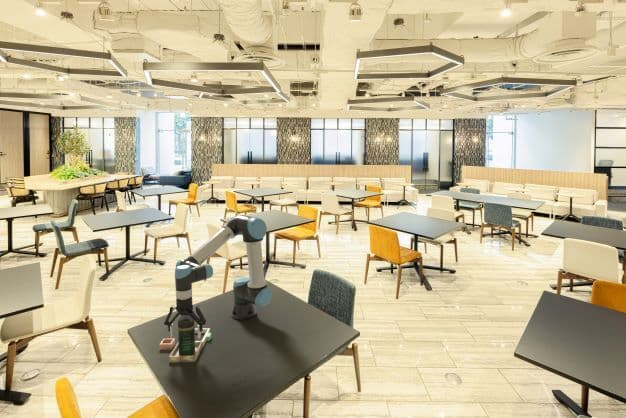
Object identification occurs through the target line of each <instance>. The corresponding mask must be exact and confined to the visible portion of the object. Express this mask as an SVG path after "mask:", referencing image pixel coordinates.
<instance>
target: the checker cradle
mask: <svg viewBox="0 0 626 418" xmlns="http://www.w3.org/2000/svg"><path fill="white" fill-rule="evenodd" d="M195 334H198V327H197V328H196V327H195ZM201 334H204V335H203V338H202V339H201V341H203V347H205V345H206V342H210V341H211V339H212V332H211V328H209V327H208V328H207V327H206V328H204V327H203V330H202V332H201Z"/></svg>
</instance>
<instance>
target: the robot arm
mask: <svg viewBox="0 0 626 418" xmlns="http://www.w3.org/2000/svg"><path fill="white" fill-rule="evenodd" d="M267 229H268V227H267V224H266V222H265V221H264V220H263V219H262V218H260V217H257V216H249V215H244V214H241V215H237V216H235V217H232V218H231V219H229V220H228V221H227V222H225V223H224V224H223V225H221V229H220V230H218V231H217V232H216V233H214V235H213V236H212V237H210V238H209V239H208V240H207V241H205V243H203V244H202V245H201V246H199V247H198V248H197V249H196V250H195V251H194V252H192V253H191V254H190V255H189V256H188V257H187V258H186V259H185V258H182V259H179V260H178V261H177V262H176V264H175V269H174V280H175V281H174V283H175V284H174V285H175V297H176V298H175V306H174V305H171V306H170V307H169V312H168V314H167V316H166V318H165V320H164V323H163V325H164V326H167V330H168V333H170V335H169V336H170V338H171V339H172V338H175V329H174V324H173V323H174V321H176V319H177V318H178V317H179V316H180V317H181V316H183V315H186V316H188V315H189V316H190V317H192V318H193V319H194V323H196V324H197V328H198V333H197V339H201V336H202V333H201V332H202V330H203V328H204V327H203V325H204V326H205V325H206V323H207V320H206V318H205V316H204V315H203V313H202V311H201V308H200V305H199V304H198V305H196V306H194V305H193V284H194V283H198V282H201V281H204V280H207V279H211V278H212V277H213V275H214V269H213V266H212V264H210V263H204V262H206V261H207V260H208V259H209V258H210V257H211V256H213V255H214V254H215V253H216V252H217V251H218V250H219V249H220V248H221V247H222V246H224V245H225V244H226V243H228V241H229V240H231V239H234V238H235V237H237V236H239V235H240V236H242V241H243V243H245V246H246V247H245V248H246V255H247V256H246V259H247V265H248V266H247V267H248V277H241V278H237V279H235V280H234V281H233V286H232V289H233V304H232V308H231V311H230V313H231V314H230V315H231V317H232V318H233V319H235V320H248V319H251V318H254V317H255V316H256V313H257V311H256V308H255V306H257V307H266V305H268V304H269V303H270V301H271V299H272V296H273V291H272V289H271V288H270V287H268V282H267V280H266V279H265V274H264V262H263V252H262V251H263V250H262V249H263V248H262V241H264V238H265V236H266V234H267ZM193 310H194V311H193ZM175 311H177V313H176V314H175V315H174V316H173V317H172V318H171V316H172V315H173V313H174V312H175ZM195 312H196V313H195ZM170 318H171V320H170Z"/></svg>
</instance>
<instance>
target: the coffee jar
mask: <svg viewBox="0 0 626 418" xmlns="http://www.w3.org/2000/svg"><path fill="white" fill-rule="evenodd" d="M195 328H196V327H195V320H194V319H193V318H192V317H190V316H189V315H188V316H186V315H183V316H181V315H180V317H179V318H178V320H177V336H178V340H177V343H178V342H179V355H180V356H190V355H193V354H194V352H195V341H196V333H195Z"/></svg>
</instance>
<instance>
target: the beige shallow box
mask: <svg viewBox="0 0 626 418" xmlns="http://www.w3.org/2000/svg"><path fill="white" fill-rule="evenodd" d="M203 347H204V346H203V341H202V340H195V352H194V354H193V355H190V356H180V355H179V342H178V341H177V343H175V345H174V347H173V348H172V350H171V352H170V353H169V355H168V362H169V363H196V362H197V360H198V357H199V356H200V354H201V351H202V349H203Z"/></svg>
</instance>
